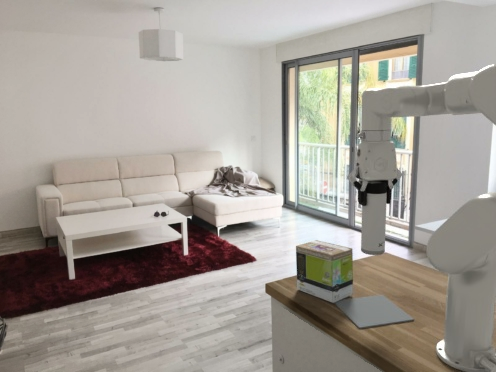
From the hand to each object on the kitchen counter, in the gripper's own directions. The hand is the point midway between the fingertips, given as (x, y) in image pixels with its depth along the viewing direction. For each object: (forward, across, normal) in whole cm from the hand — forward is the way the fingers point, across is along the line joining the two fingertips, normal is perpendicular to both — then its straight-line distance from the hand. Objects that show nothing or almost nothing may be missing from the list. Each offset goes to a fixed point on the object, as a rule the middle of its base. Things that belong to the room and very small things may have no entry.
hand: (374, 203), depth 112 cm
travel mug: (+14, 0, 0) cm, 14 cm away
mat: (+31, 0, 0) cm, 31 cm away
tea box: (+31, -8, +15) cm, 35 cm away
